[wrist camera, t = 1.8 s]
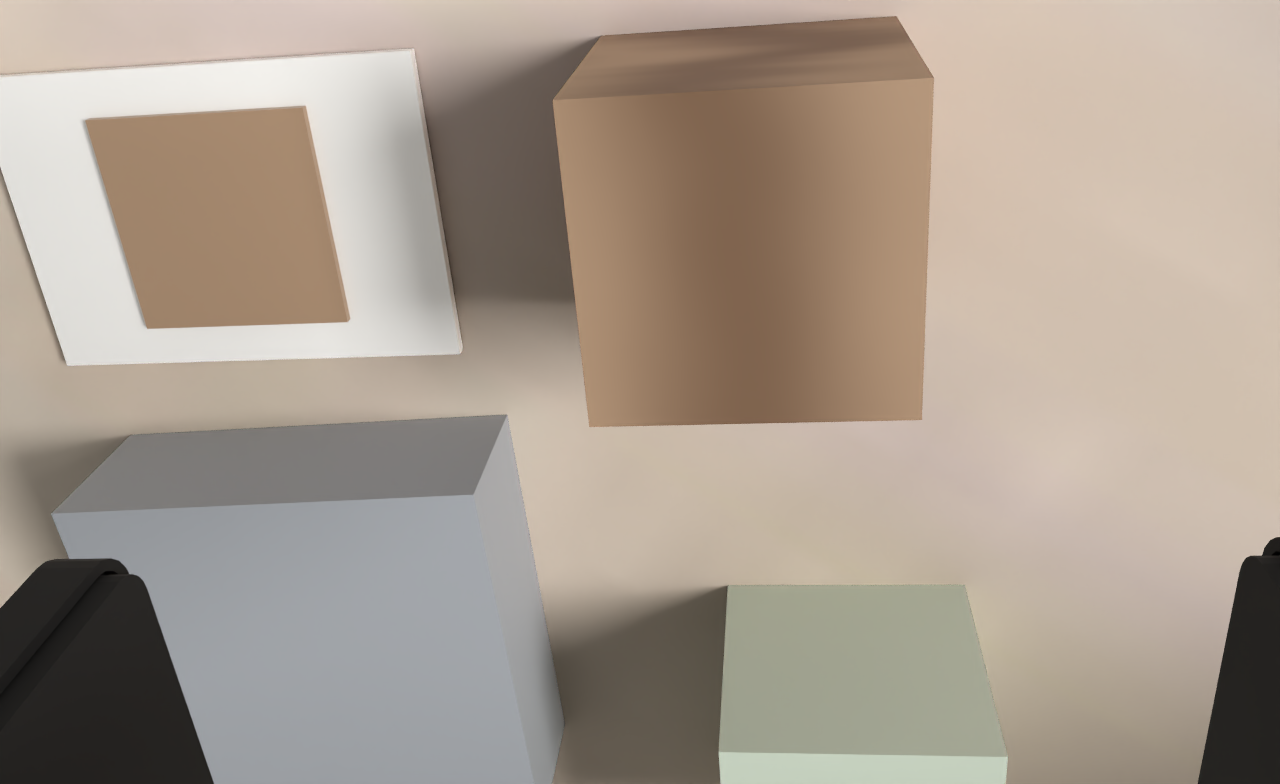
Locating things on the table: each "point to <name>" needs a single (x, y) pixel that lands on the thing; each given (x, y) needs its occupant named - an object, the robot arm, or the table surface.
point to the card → (232, 209)
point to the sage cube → (856, 687)
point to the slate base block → (339, 597)
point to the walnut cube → (749, 223)
